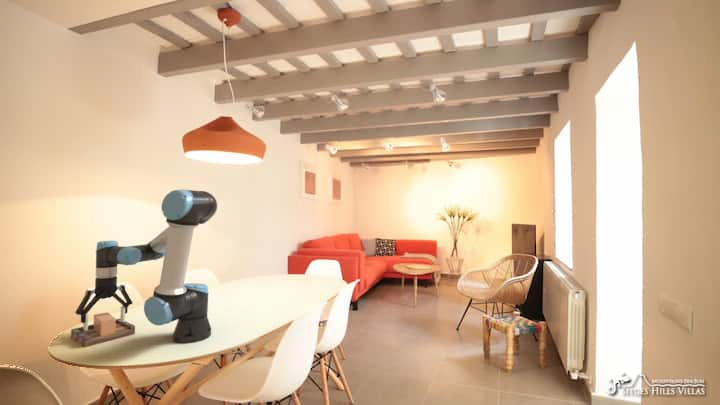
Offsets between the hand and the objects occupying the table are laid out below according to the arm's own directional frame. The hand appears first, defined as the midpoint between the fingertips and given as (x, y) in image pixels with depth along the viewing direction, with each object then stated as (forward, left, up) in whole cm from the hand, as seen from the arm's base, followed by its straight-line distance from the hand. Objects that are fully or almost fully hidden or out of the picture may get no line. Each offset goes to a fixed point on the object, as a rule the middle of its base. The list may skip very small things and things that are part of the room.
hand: (104, 325), depth 147 cm
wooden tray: (+1, 0, -5) cm, 5 cm away
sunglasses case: (0, 0, -2) cm, 2 cm away
